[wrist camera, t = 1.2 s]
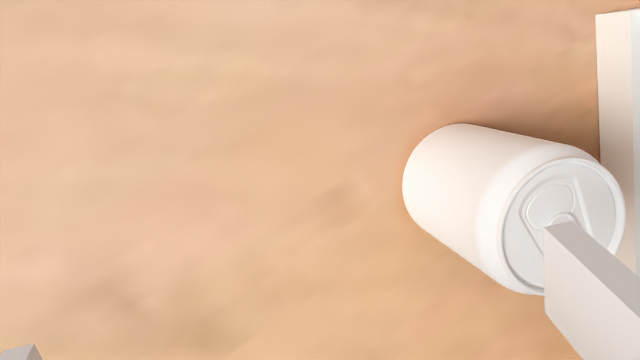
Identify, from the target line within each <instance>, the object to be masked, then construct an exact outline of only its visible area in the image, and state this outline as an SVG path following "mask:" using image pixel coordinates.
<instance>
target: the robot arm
mask: <svg viewBox="0 0 640 360" xmlns="http://www.w3.org/2000/svg"><path fill="white" fill-rule="evenodd" d="M544 297H545V313H546V314H547V316H548V317H549V318H550V319H551V321H552V322H553V323H554V324H555V325H556V327H557V328H558V329H559V330H560V332H561V333H562V334H563V335H564V337H565V338H566V339H567V340H568V342H569V343H570V344H571V345H572V346H573V348H574V349H575V350H576V351H577V353H578V354H579V355H580V356H581V358H582V359H583V360H640V277H639V276H637V275H636V274H635V273H634V272H633V271H632V270H630V269H629V268H628V267H627V266H626V265H624V264H623V263H622V262H621V261H620V260H618V259H617V258H616V257H615V256H614V255H613V254H611V253H610V252H609V251H608V250H607V249H605V248H604V247H603V246H602V245H601V244H600V243H598V242H597V241H596V240H595V239H594V238H592V237H591V236H590V235H589V234H588V233H586V232H585V231H584V230H583V229H582V228H581V227H579V226H578V225H577V224H576V223H575V222H573V221H568V222H564V223H559V224H555V225H550V226H546V227H544ZM0 360H42V358H41V356H40V354H39V352H38V350H37V348H36V346H35V344H31V345H26V346H22V347H17V348H13V349H9V350H4V351H3V352H2V354H1V355H0Z"/></svg>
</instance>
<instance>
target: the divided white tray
mask: <svg viewBox="0 0 640 360" xmlns="http://www.w3.org/2000/svg"><path fill="white" fill-rule="evenodd" d="M595 19H596V48H597V76H598V105H599V133H600V162H601V165H602V166H603V167H604V168H605V169H607V170H608V171H609V172H610V173H611V174H612V175H613V177H614V178H615V179H616V181H617V182H618V184H619V186H620V188H621V190H622V193H623V196H624V200H625V205H626V225H625V231H624V235H623V238H622V242H621V244H620V247H619V249H618V251H617V253H616V255H615V257H616V258H617V259H618V260H620V261H621V262H622V263H623V264H624V265H626V266H627V267H628V268H629V269H630V270H632V271H633V272H634V273H635V274H636V275H637V276H639V277H640V7H638V8H632V9H627V10H621V11H615V12H610V13H604V14H598V15H595Z"/></svg>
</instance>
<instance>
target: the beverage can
mask: <svg viewBox="0 0 640 360" xmlns="http://www.w3.org/2000/svg"><path fill="white" fill-rule="evenodd" d="M402 190H403V198H404V202H405V205H406V208H407V210H408V212H409V214H410V216H411V217H412V219H413V220H414V221H415V222H416V223H417V224H418V225H419V226H420V227H421V228H422V229H424V230H425V231H426V232H428V233H429V234H431V235H432V236H433V237H435V238H436V239H438V240H439V241H440V242H442V243H443V244H445V245H446V246H447V247H449V248H450V249H452V250H453V251H454V252H456V253H457V254H459V255H460V256H461V257H463V258H464V259H466V260H467V261H468V262H470V263H471V264H473V265H474V266H475V267H477V268H478V269H480V270H481V271H482V272H484V273H485V274H487V275H488V276H489V277H491V278H492V279H494V280H495V281H496V282H498V283H499V284H501V285H502V286H504V287H506V288H508V289H510V290H512V291H515V292H518V293H522V294H529V295H541V296H544V227H546V226H550V225H555V224H559V223H564V222H568V221H573V222H575V223H576V224H577V225H578V226H579V227H581V228H582V229H583V230H584V231H585V232H586V233H588V234H589V235H590V236H591V237H592V238H594V239H595V240H596V241H597V242H598V243H600V244H601V245H602V246H603V247H604V248H605V249H607V250H608V251H609V252H610V253H611V254H613V255H614V256H615V255H616V253H617V251H618V249H619V247H620V244H621V242H622V238H623V235H624V231H625V225H626V205H625V200H624V196H623V193H622V190H621V188H620V186H619V184H618V182H617V181H616V179H615V178H614V177H613V175H612V174H611V173H610V172H609V171H608V170H607V169H605V168H604V167H603V166H602V165H601V164H600V163H599V162H598V161H597V160H596V159H595V158H594V157H592V156H591V155H590V154H588V153H587V152H585V151H583V150H581V149H579V148H577V147H574V146H571V145H567V144H562V143H557V142H553V141H548V140H543V139H538V138H534V137H529V136H524V135H520V134H515V133H510V132H505V131H501V130H496V129H491V128H486V127H482V126H477V125H472V124H464V123H460V124H451V125H447V126H444V127H442V128H439V129H437V130H435V131H434V132H432V133H431V134H429V135H428V136H426V137H425V138H424V139H423V140H422V141H421V142H420V143H419V144H418V145H417V147H416V148H415V149H414V151H413V152H412V154H411V156H410V157H409V159H408V162H407V164H406V167H405V170H404V175H403V183H402Z"/></svg>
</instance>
